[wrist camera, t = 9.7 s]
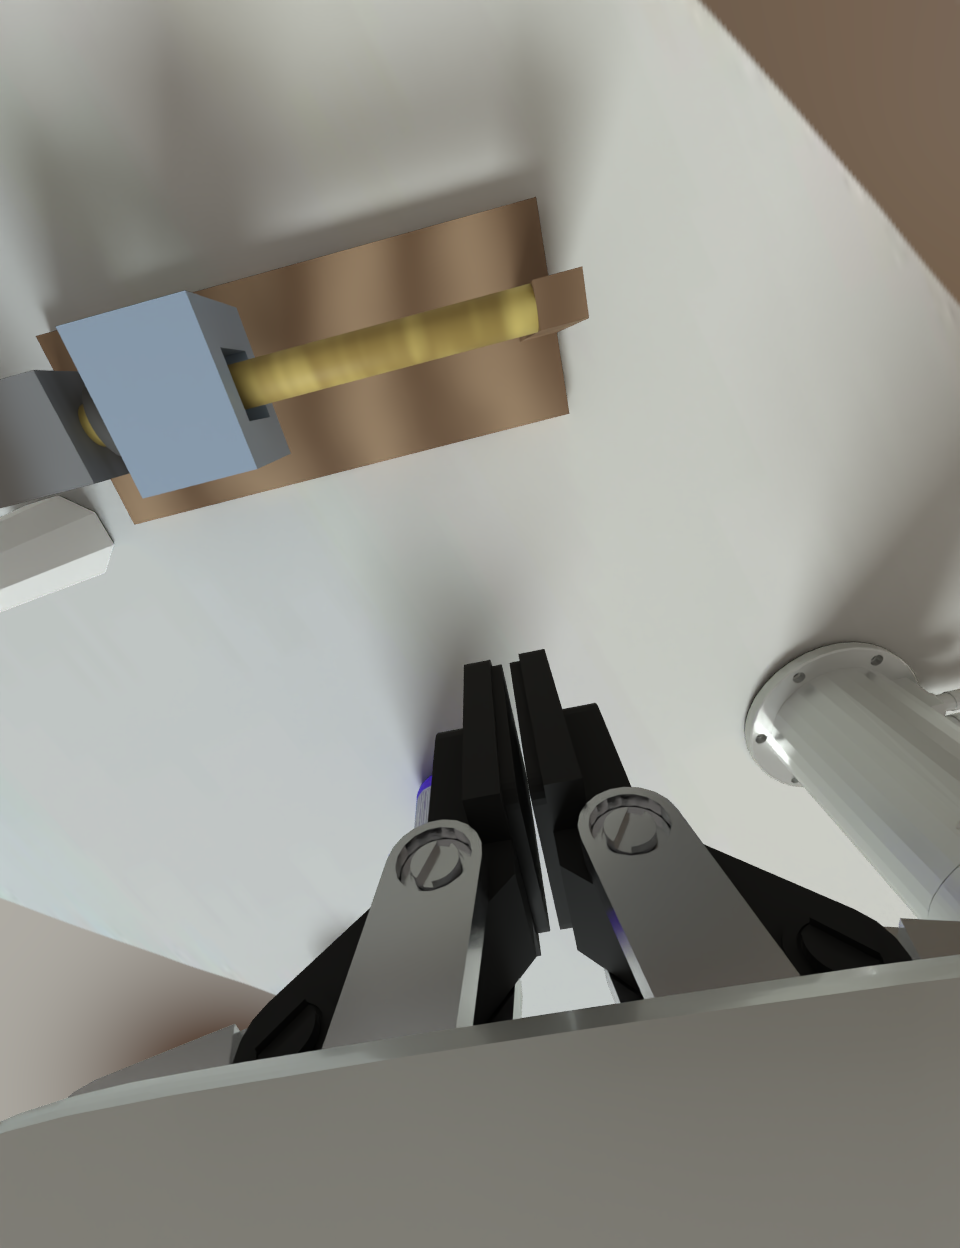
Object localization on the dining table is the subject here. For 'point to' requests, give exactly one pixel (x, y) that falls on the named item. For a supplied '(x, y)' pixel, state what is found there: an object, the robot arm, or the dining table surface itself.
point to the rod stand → (340, 363)
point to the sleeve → (174, 391)
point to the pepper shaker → (49, 549)
